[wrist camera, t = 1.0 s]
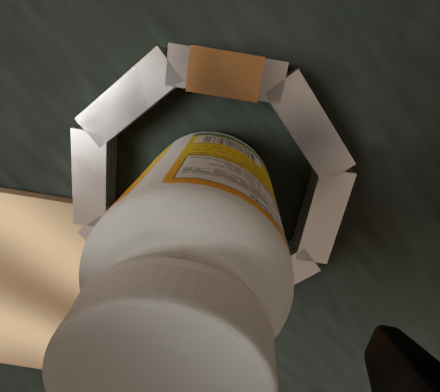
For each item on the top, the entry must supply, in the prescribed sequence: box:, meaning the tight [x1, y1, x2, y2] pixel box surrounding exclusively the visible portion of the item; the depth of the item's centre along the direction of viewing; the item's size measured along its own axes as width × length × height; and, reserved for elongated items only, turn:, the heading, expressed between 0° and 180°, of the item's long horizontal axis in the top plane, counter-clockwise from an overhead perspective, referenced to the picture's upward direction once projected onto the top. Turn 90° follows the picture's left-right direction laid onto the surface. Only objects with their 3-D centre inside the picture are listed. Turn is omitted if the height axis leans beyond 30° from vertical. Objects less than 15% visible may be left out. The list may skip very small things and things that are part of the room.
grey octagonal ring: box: [70, 43, 357, 285], centre depth 13 cm, size 11×11×2 cm
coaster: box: [0, 187, 86, 369], centre depth 16 cm, size 11×11×1 cm
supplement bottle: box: [42, 132, 294, 392], centre depth 10 cm, size 5×5×10 cm
